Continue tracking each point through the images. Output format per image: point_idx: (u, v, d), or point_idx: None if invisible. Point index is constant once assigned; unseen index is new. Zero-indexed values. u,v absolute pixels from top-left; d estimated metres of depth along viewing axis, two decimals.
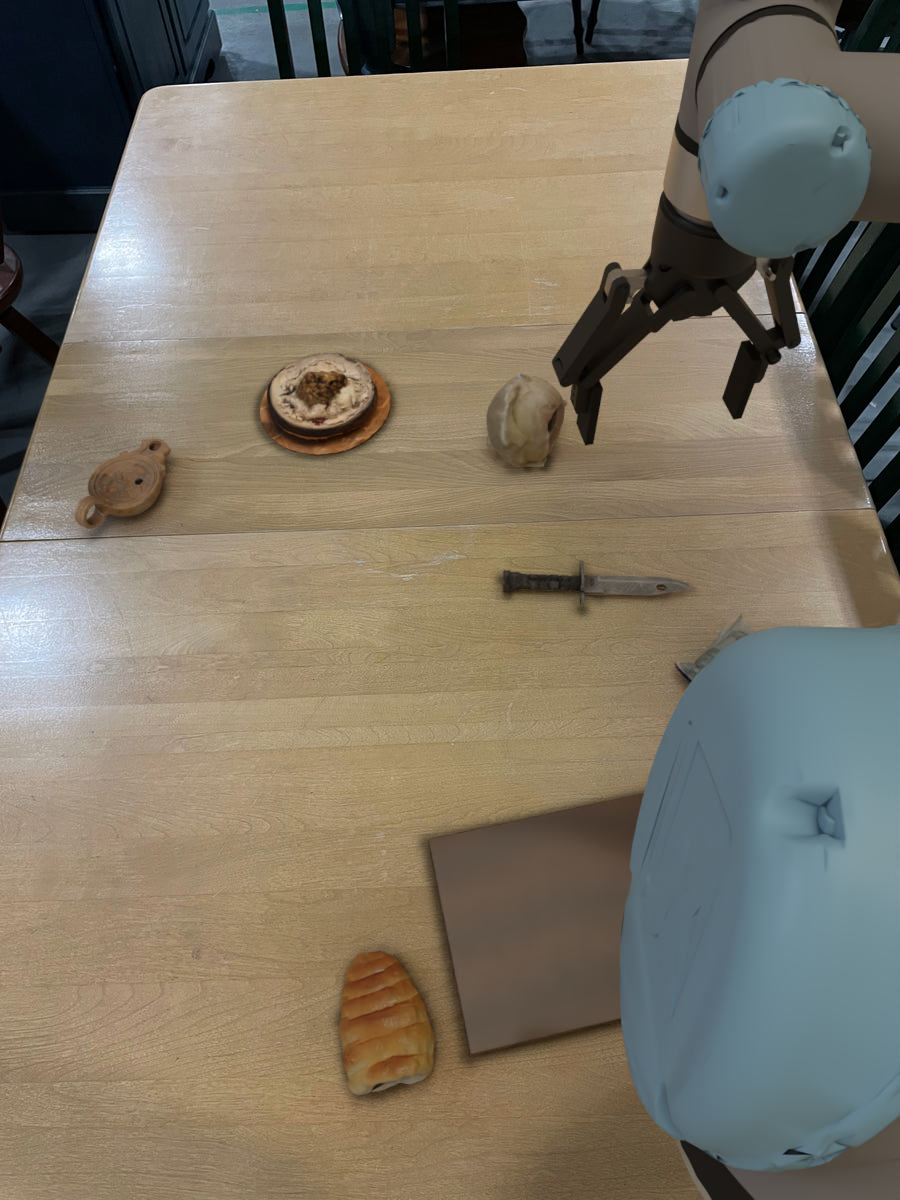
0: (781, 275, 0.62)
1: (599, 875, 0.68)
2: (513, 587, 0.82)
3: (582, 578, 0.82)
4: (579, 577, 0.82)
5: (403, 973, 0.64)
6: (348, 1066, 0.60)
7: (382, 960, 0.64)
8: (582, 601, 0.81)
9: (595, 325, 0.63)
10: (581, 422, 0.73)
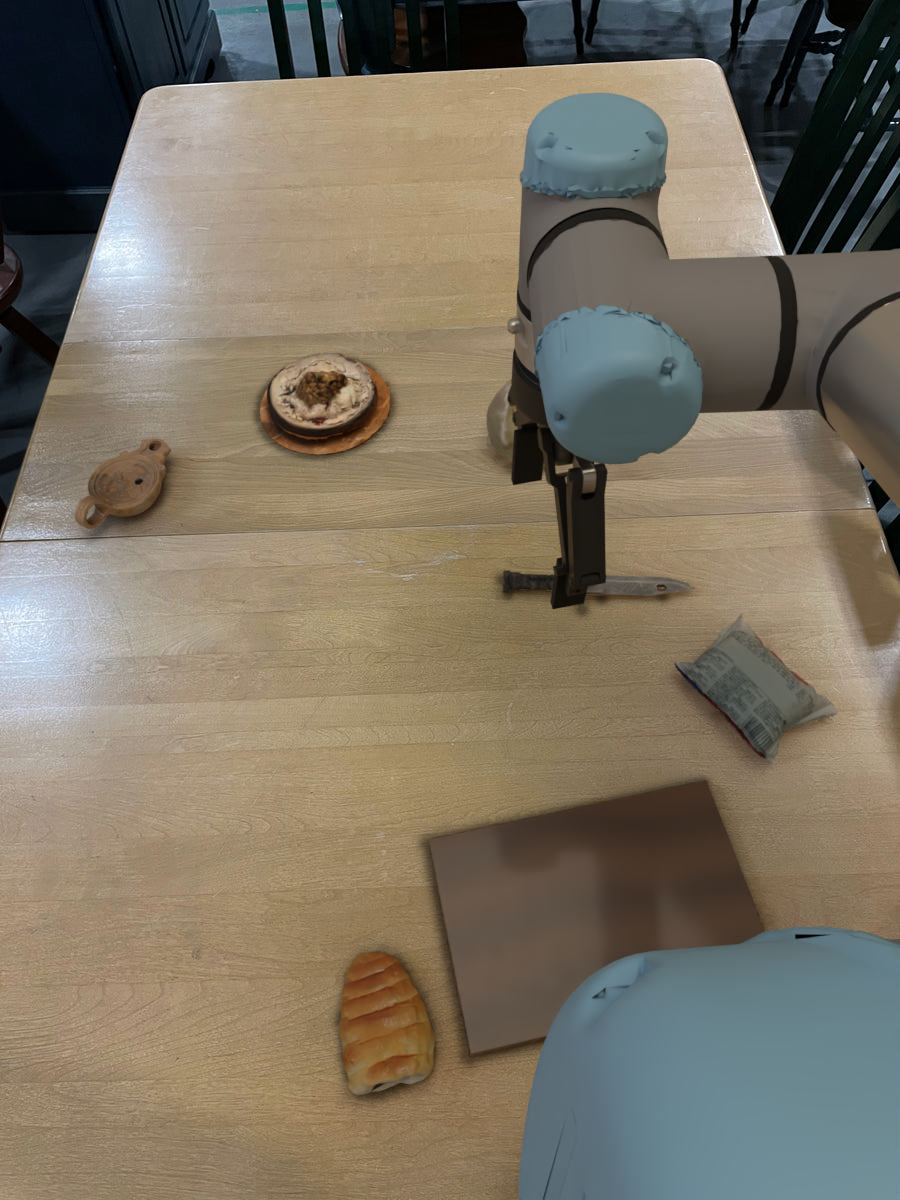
0: None
1: (599, 875, 0.68)
2: (513, 587, 0.82)
3: None
4: None
5: (403, 973, 0.64)
6: (348, 1066, 0.60)
7: (382, 960, 0.64)
8: None
9: (601, 517, 0.60)
10: (567, 599, 0.70)
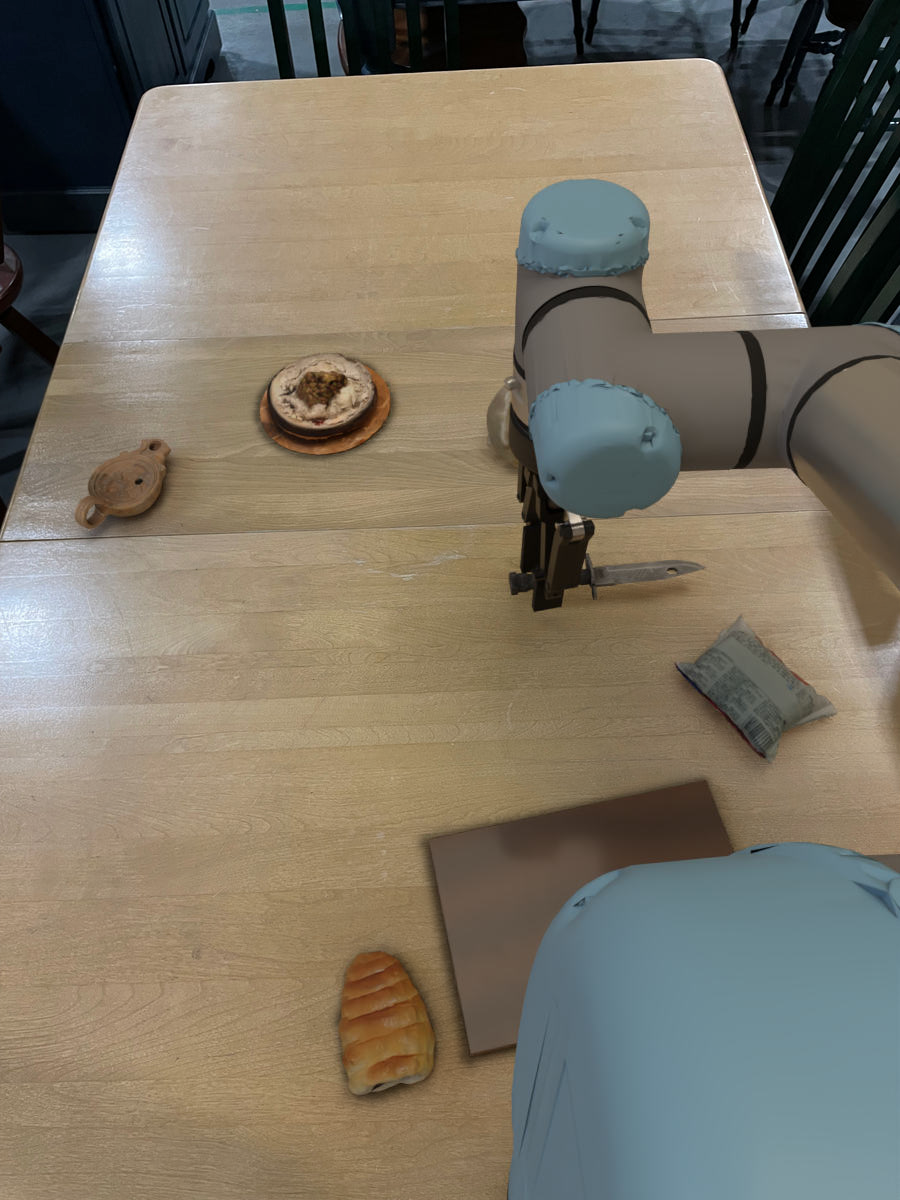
0: None
1: (599, 875, 0.68)
2: (521, 588, 0.79)
3: (591, 571, 0.79)
4: (588, 570, 0.79)
5: (403, 973, 0.64)
6: (348, 1066, 0.60)
7: (382, 960, 0.64)
8: (595, 594, 0.78)
9: (582, 553, 0.66)
10: (546, 602, 0.78)
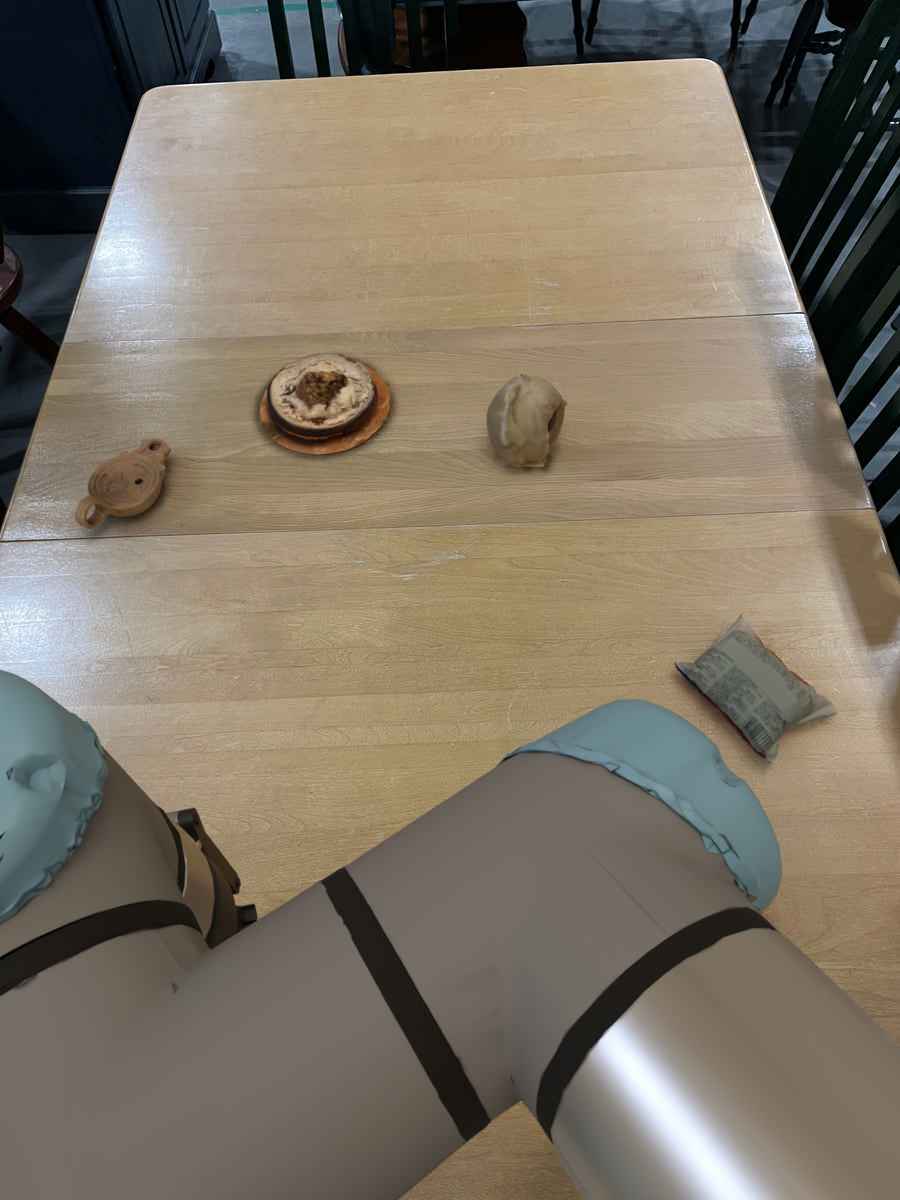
0: (200, 834, 0.43)
1: None
2: None
3: None
4: None
5: None
6: None
7: None
8: None
9: None
10: None
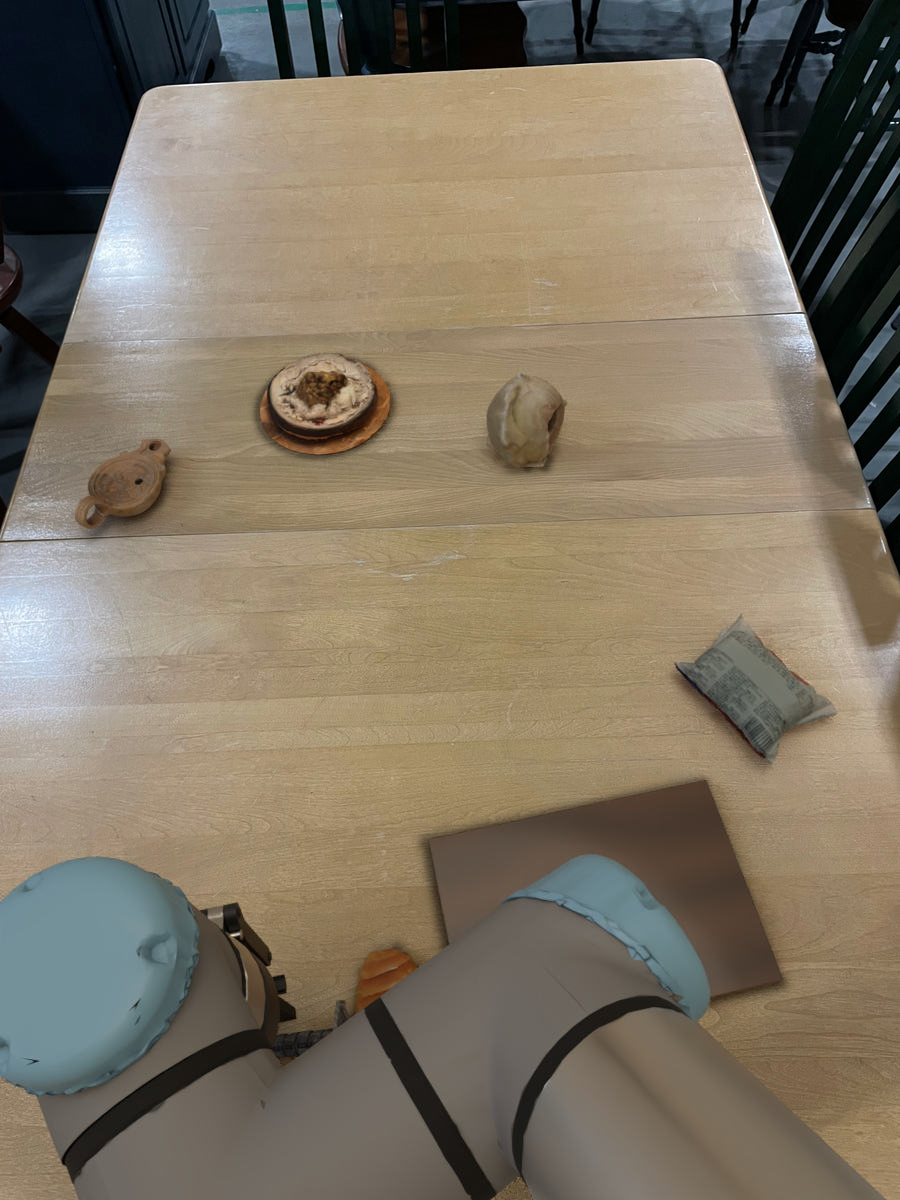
0: (241, 924, 0.51)
1: None
2: None
3: None
4: None
5: None
6: None
7: (395, 958, 0.64)
8: None
9: None
10: None
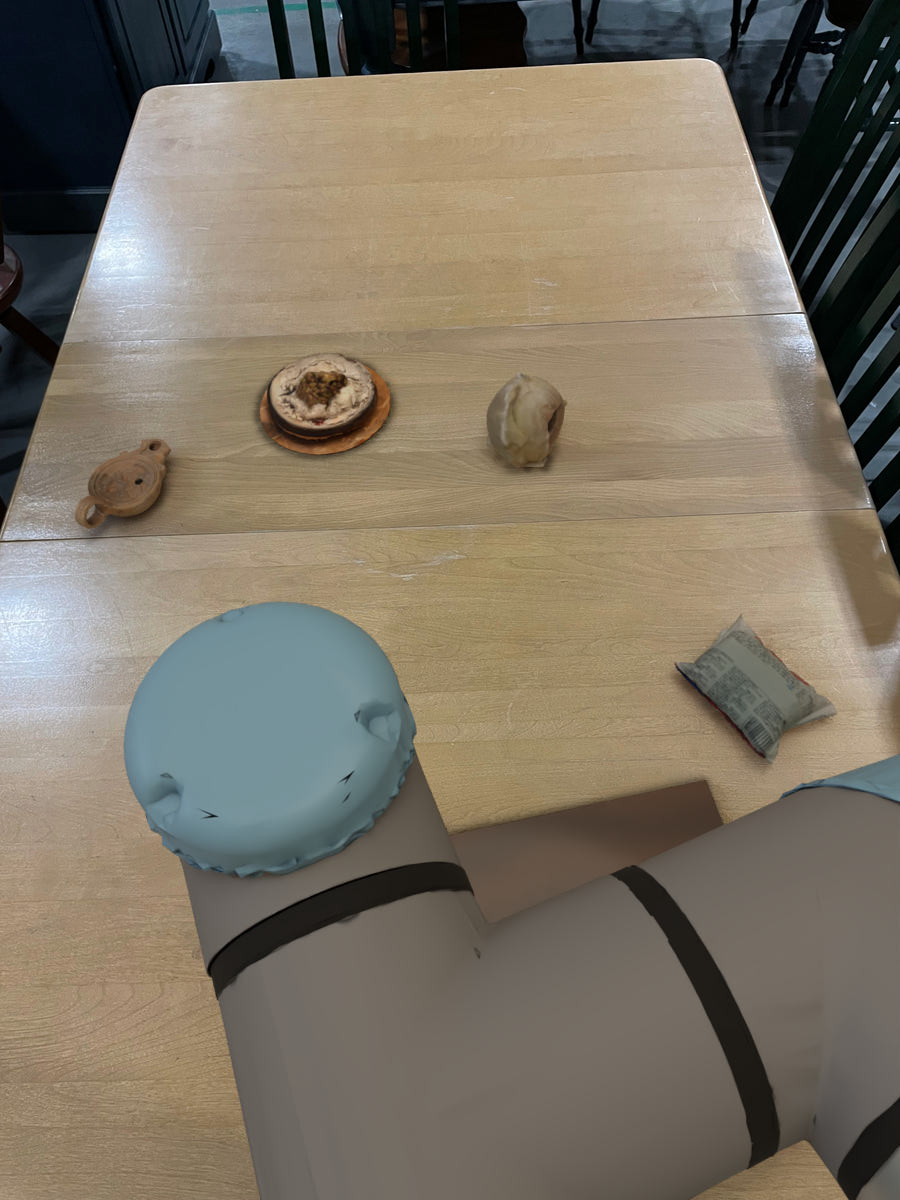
0: None
1: (599, 875, 0.68)
2: None
3: None
4: None
5: None
6: None
7: None
8: None
9: None
10: None
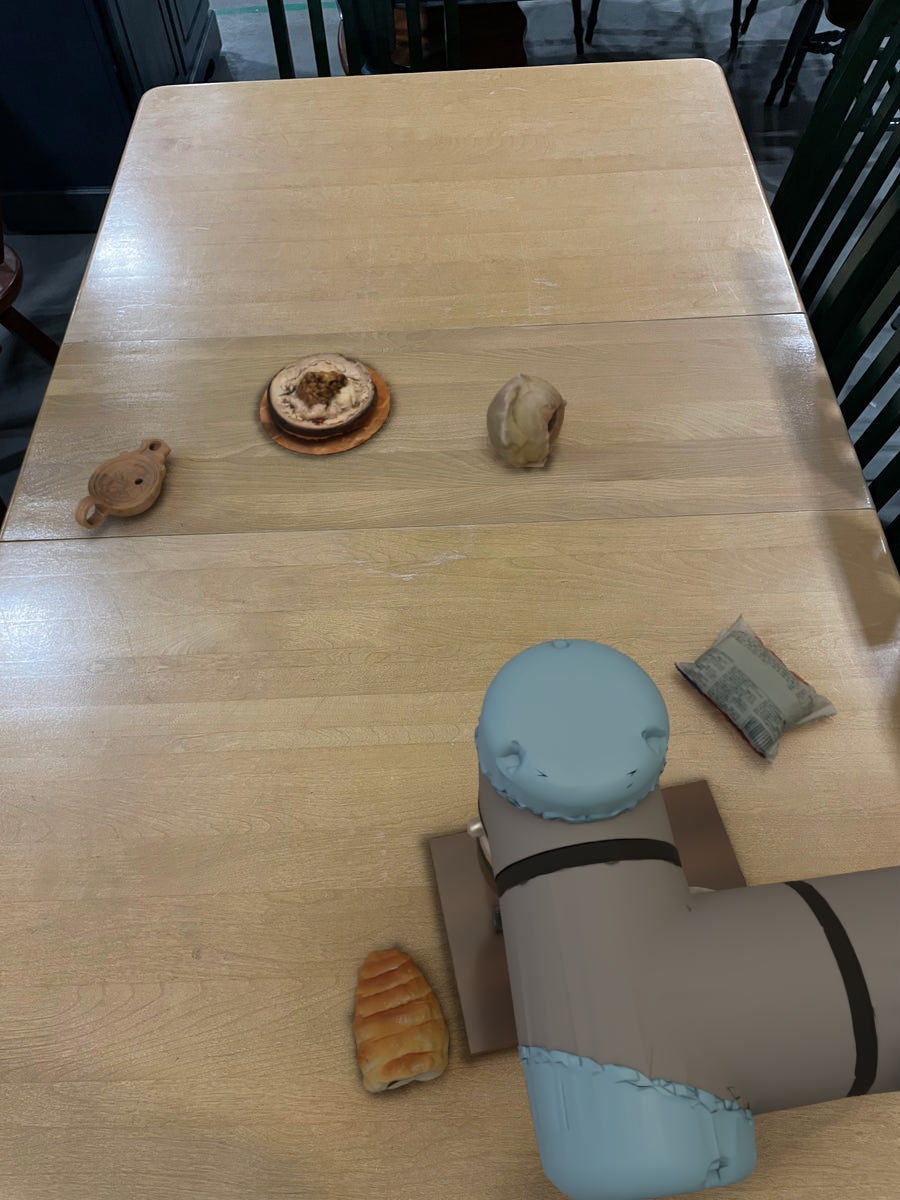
0: None
1: None
2: None
3: None
4: None
5: (416, 970, 0.64)
6: (363, 1064, 0.60)
7: (396, 958, 0.64)
8: None
9: None
10: None
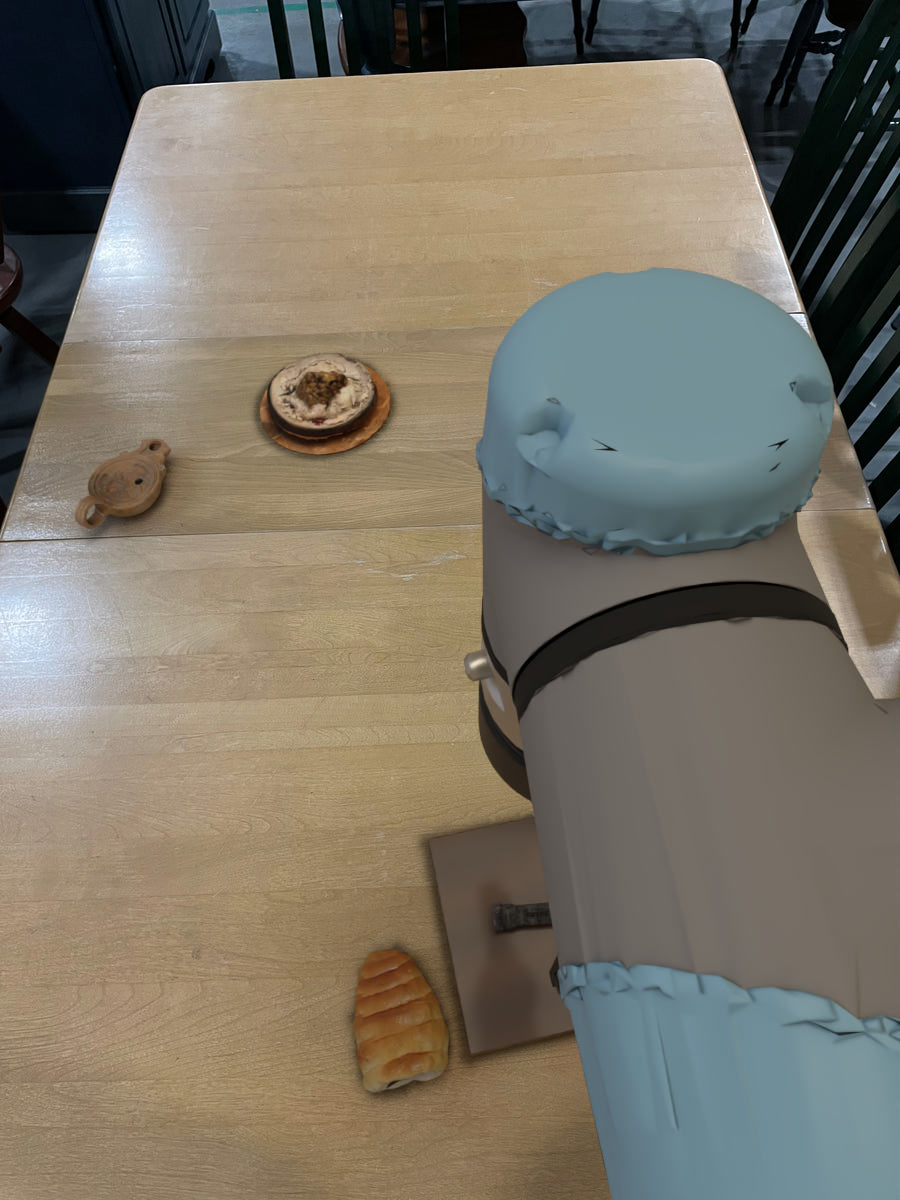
0: None
1: None
2: (507, 927, 0.65)
3: None
4: None
5: (416, 970, 0.64)
6: (363, 1064, 0.60)
7: (396, 958, 0.64)
8: None
9: None
10: None
